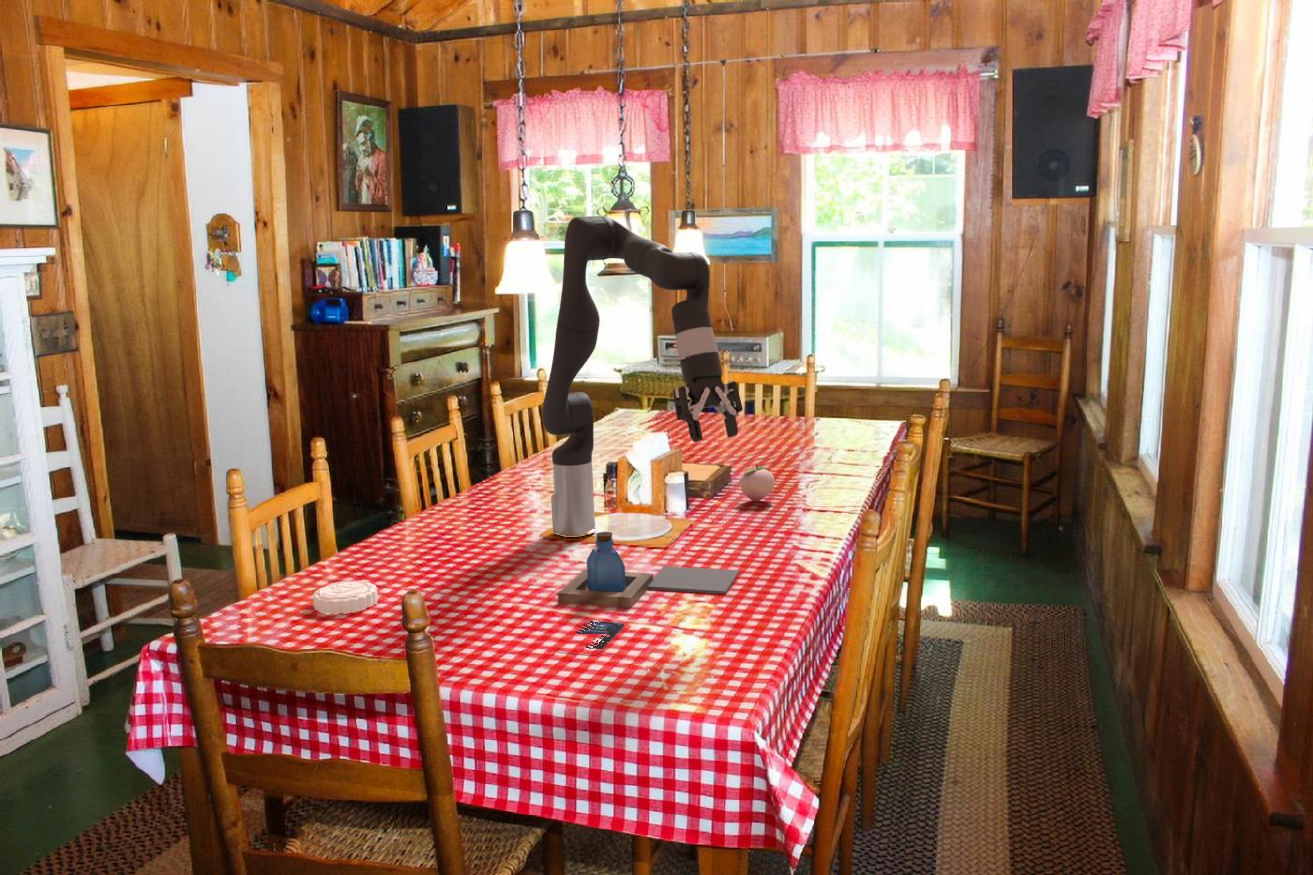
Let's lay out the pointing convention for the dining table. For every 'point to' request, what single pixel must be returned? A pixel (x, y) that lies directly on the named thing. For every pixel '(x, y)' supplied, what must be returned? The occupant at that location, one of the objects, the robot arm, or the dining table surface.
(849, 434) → the dining table surface
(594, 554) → the perfume bottle
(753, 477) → the decorative fruit
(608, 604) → the block
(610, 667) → the dining table surface
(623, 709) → the dining table surface
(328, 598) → the mooncake
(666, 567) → the rubber mat
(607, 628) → the smartphone
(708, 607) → the dining table surface
